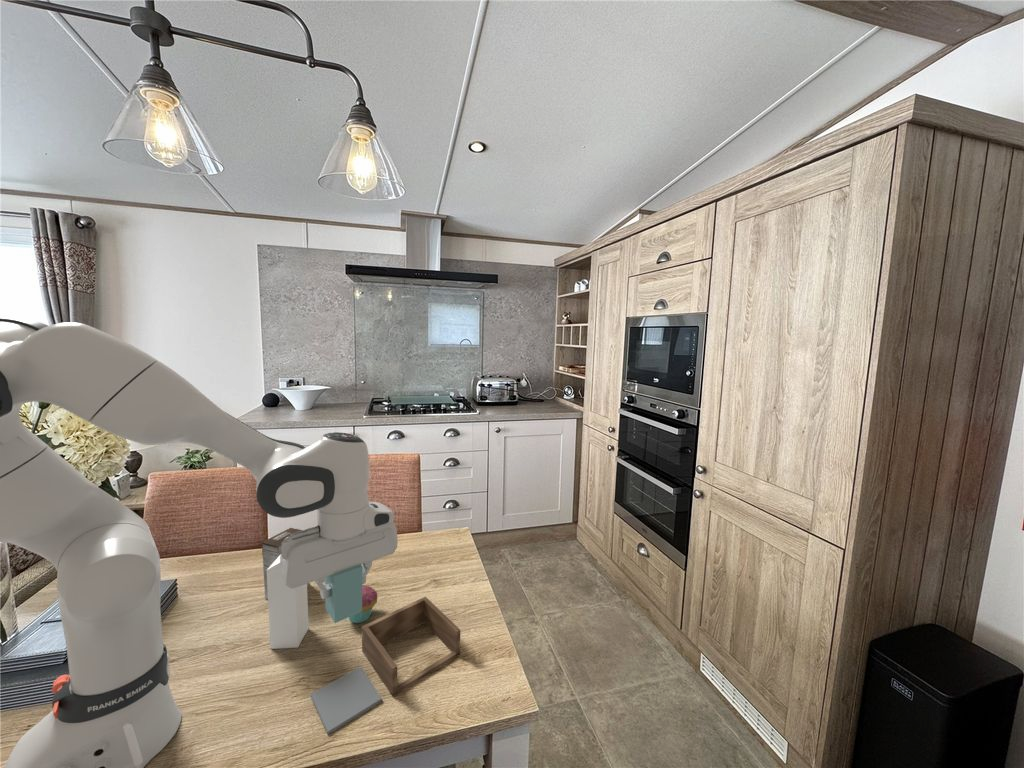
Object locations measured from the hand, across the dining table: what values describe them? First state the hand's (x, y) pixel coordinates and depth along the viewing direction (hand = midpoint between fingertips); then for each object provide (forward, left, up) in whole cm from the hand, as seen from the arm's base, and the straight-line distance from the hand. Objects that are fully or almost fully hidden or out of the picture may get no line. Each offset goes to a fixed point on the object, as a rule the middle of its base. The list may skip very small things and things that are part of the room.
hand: (343, 589), depth 75 cm
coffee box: (0, +43, -23) cm, 48 cm away
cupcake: (+11, +21, -23) cm, 32 cm away
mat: (0, 0, -22) cm, 22 cm away
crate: (+15, +2, -22) cm, 27 cm away
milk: (-4, +24, -23) cm, 33 cm away
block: (0, 0, -4) cm, 4 cm away
